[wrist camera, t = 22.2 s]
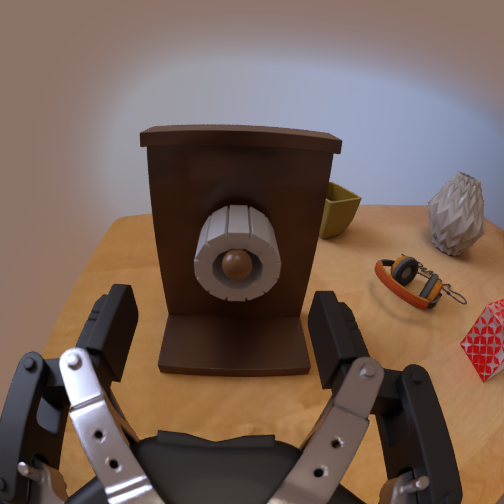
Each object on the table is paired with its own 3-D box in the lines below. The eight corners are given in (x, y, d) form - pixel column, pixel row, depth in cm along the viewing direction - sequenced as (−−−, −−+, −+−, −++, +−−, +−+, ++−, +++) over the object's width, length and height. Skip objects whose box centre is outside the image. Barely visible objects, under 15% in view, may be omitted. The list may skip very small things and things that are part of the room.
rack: (159, 373, 26) (106, 150, 13) (173, 308, 34) (154, 125, 22) (308, 375, 27) (376, 160, 15) (294, 310, 35) (327, 132, 23)
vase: (428, 225, 63) (446, 162, 53) (475, 253, 52) (499, 189, 42) (407, 240, 54) (430, 163, 44) (465, 275, 44) (497, 196, 34)
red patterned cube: (484, 332, 30) (508, 296, 26) (506, 366, 24) (535, 331, 20) (459, 343, 29) (486, 304, 25) (483, 383, 23) (516, 345, 18)
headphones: (476, 289, 36) (445, 307, 26) (462, 313, 38) (423, 340, 28) (415, 243, 48) (360, 238, 38) (404, 264, 51) (346, 268, 41)
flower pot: (352, 237, 53) (363, 197, 48) (322, 246, 49) (332, 202, 44) (324, 219, 59) (332, 181, 54) (294, 225, 56) (300, 184, 51)
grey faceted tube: (197, 300, 22) (191, 231, 19) (202, 266, 26) (200, 204, 23) (275, 301, 23) (285, 234, 19) (270, 268, 27) (277, 206, 23)
